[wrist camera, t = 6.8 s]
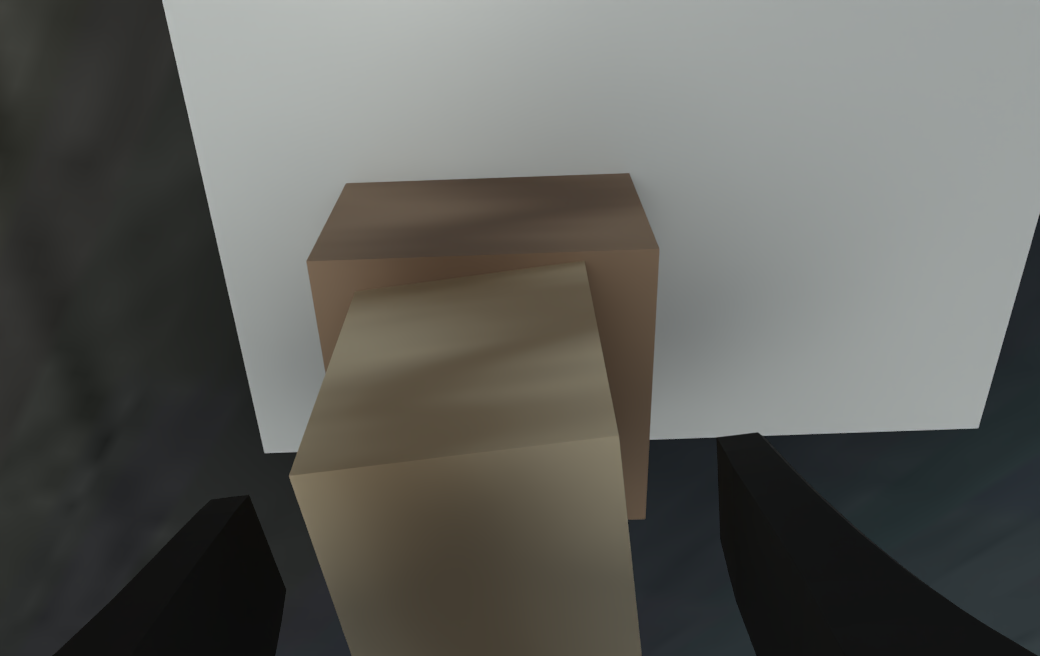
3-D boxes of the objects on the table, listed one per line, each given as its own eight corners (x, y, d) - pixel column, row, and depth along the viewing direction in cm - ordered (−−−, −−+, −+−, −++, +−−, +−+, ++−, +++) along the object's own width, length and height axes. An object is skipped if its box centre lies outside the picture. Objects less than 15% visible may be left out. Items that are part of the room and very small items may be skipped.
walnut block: (629, 173, 18) (659, 248, 14) (621, 407, 21) (645, 519, 17) (346, 183, 18) (306, 261, 14) (378, 416, 21) (352, 528, 17)
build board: (1190, -386, 14) (1217, -396, 13) (968, 416, 21) (980, 430, 21) (96, -344, 14) (80, -352, 13) (269, 441, 21) (263, 455, 21)
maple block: (584, 260, 14) (619, 435, 10) (605, 447, 16) (642, 662, 12) (354, 291, 14) (289, 476, 10) (402, 472, 16) (364, 692, 12)
